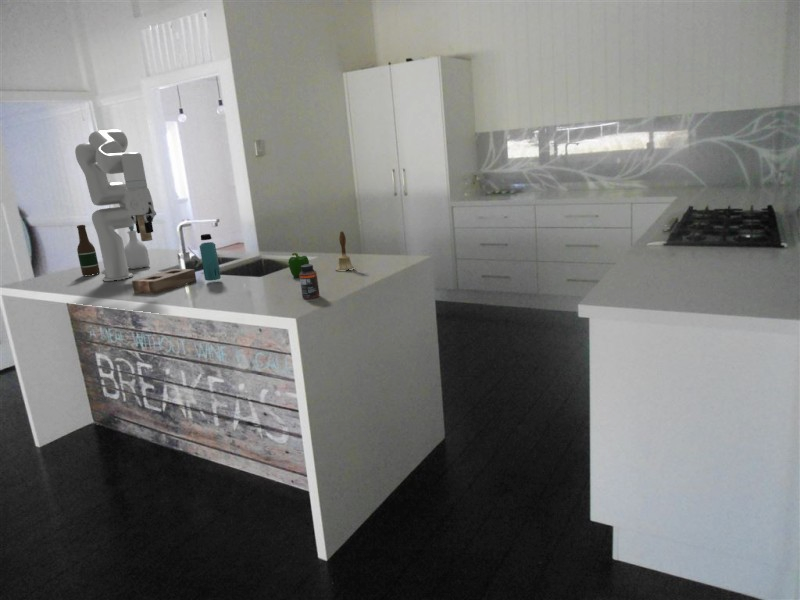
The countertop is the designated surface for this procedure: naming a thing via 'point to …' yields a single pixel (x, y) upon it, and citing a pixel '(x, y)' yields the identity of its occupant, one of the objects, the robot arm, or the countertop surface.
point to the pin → (143, 228)
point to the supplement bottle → (309, 282)
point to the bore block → (163, 281)
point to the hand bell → (344, 255)
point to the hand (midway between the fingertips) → (145, 232)
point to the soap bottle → (136, 251)
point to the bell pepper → (297, 264)
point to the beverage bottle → (209, 259)
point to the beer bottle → (86, 253)
